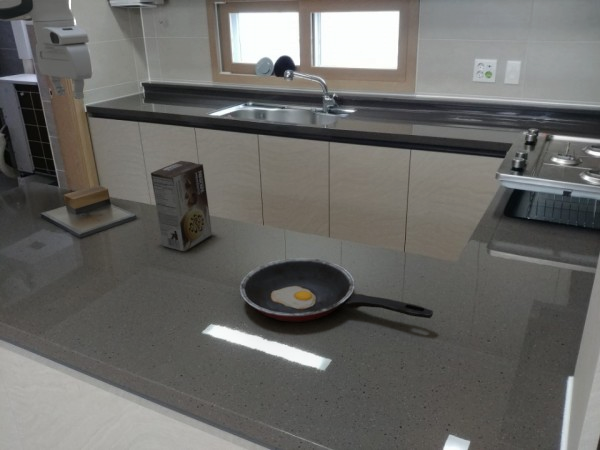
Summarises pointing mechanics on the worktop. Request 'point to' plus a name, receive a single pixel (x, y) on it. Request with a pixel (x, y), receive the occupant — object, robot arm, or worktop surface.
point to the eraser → (87, 199)
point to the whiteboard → (88, 219)
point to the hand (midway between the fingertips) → (69, 96)
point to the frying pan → (310, 291)
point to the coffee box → (181, 204)
